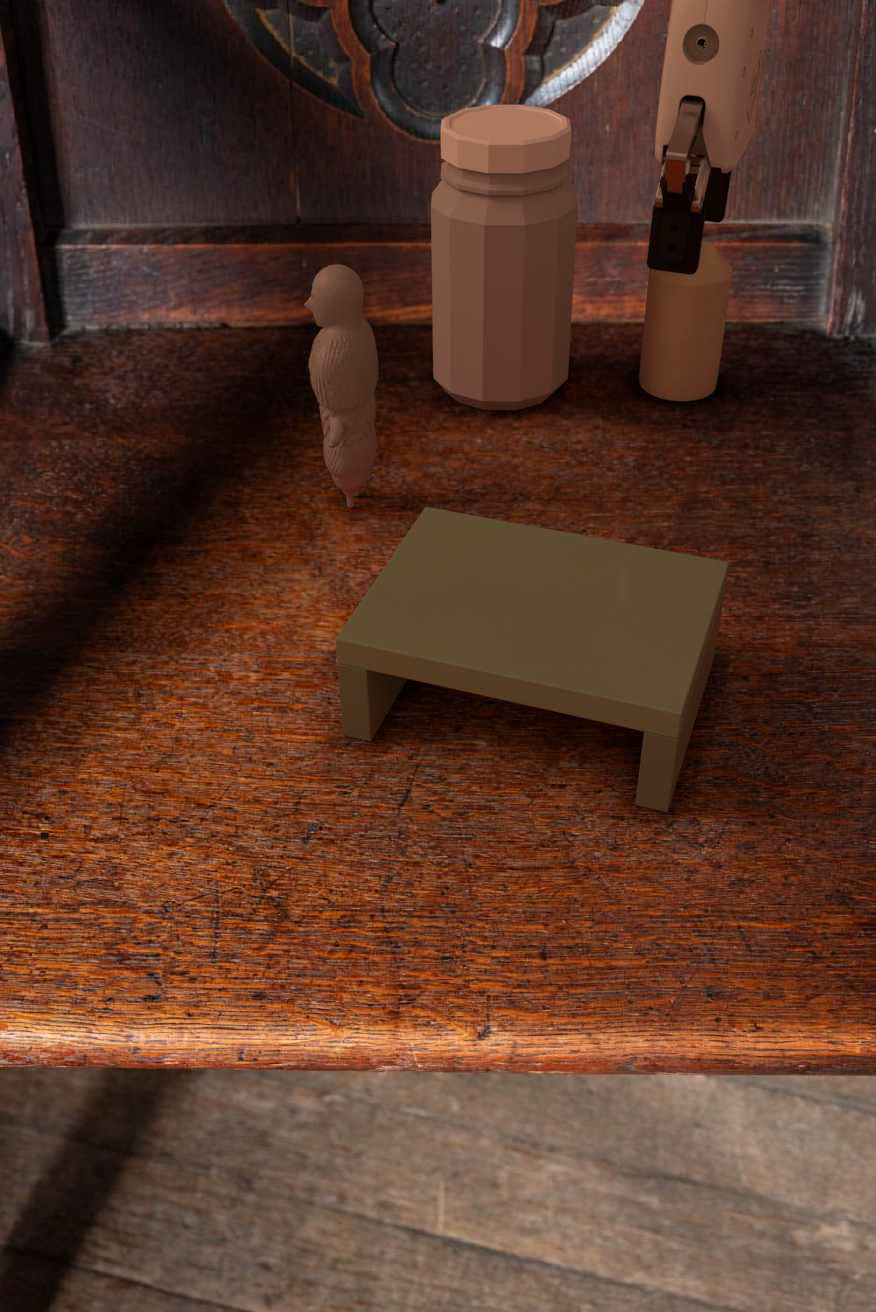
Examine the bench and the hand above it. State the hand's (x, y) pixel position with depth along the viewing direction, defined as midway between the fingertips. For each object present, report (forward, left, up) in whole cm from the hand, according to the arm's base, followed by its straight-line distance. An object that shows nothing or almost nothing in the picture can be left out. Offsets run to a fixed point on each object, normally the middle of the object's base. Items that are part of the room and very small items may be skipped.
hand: (686, 243), depth 83 cm
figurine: (+16, +22, -10) cm, 29 cm away
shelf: (0, +36, -10) cm, 37 cm away
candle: (0, 0, -10) cm, 10 cm away
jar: (+12, +4, -10) cm, 16 cm away
